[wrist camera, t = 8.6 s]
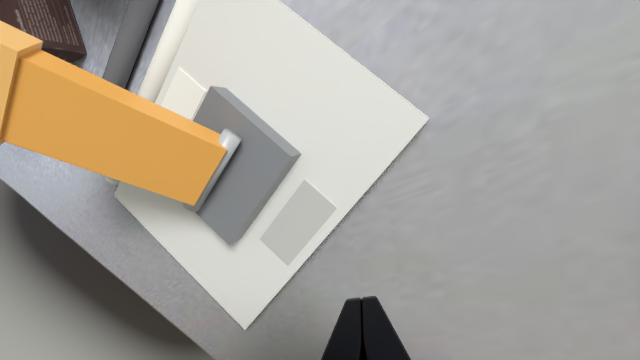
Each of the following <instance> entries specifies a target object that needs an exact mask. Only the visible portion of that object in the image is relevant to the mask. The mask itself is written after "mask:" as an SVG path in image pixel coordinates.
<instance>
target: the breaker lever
mask: <svg viewBox="0 0 640 360" xmlns="http://www.w3.org/2000/svg"><path fill="white" fill-rule="evenodd" d="M42 44H43V41H42V40H40V39H38V38H36V37H33V36H31V35H29V34H27V33H25V32H23V31H21V30H19V29H17V28H15V27H13V26H11V25H9V24H7V23H4V22H2V21H0V145H1V144H2V143H4V142H8V143H11V144H14V145H16V146H19V147H22V148H25V149H28V150H31V151H34V152H37V153H40V154H43V155H46V156H49V157H52V158H55V159H58V160H61V161H64V162H66V163H69V164H72V165H75V166H78V167H81V168H84V169H87V170H90V171H93V172H96V173H99V174H102V175H105V176H108V177H111V178H114V179H116V180H119V181H122V182H125V183H128V184H131V185H134V186H137V187H140V188H143V189H146V190H149V191H152V192H155V193H158V194H161V195H164V196H166V197H169V198H172V199H175V200H178V201H181V202H183V203H182V204H183V206H184V208H185V209H187V210H189V211H192V212H196V211H198V210H199V209H200V208H201V206H202V204H203V203H204V201H205V199H206V198H207V196H208V194H209V193H210V191H211V189H212V188H213V186H214V184H215V183H216V181H217V179H218V178H219V176H220V174H221V173H222V171H223V169H224V168H225V166H226V164H227V163H228V161H229V160H230V158H231V156H232V155H233V153H234V151H235V150H236V148H237V146H238V145H239V143H240V141H241V140H242V138H241V136H240V135H239V134H238V133H236V132H235V131H233V130H231V129H224V130H223V132H222V134H219V133H217V132H215V131H213V130H211V129H209V128H206V127H204V126H202V125H200V124H198V123H196V122H194V121H192V120H189V119H187V118H185V117H183V116H181V115H179V114H177V113H174V112H172V111H170V110H168V109H166V108H164V107H162V106H160V105H157V104H155V103H153V102H151V101H149V100H147V99H145V98H143V97H140V96H138V95H136V94H134V93H132V92H130V91H128V90H126V89H123V88H121V87H119V86H117V85H115V84H113V83H111V82H109V81H106V80H104V79H102V78H100V77H98V76H96V75H94V74H92V73H89V72H87V71H85V70H83V69H81V68H79V67H77V66H75V65H72V64H70V63H68V62H66V61H64V60H62V59H60V58H58V57H55V56H53V55H51V54H49V53H47V52H45V51H43V50H41V48H42Z"/></svg>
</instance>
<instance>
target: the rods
mask: <svg viewBox="0 0 640 360" xmlns="http://www.w3.org/2000/svg"><path fill="white" fill-rule="evenodd" d="M199 1H200V0H176V2H175V5H174V7H173V9H172V12H171V14H170V17H169V19H168V22H167V24H166V26H165V29H164V31H163V34H162V36H161V39H160V41H159V44H158V46H157V48H156V51H155V53H154V56H153V58H152V61H151V63H150V65H149V68H148V70H147V73H146V75H145V78H144V80H143V83H142V85H141V87H140V90H139V92H138V96H140V97H143V98H145V99H147V100H149V101H151V102H153V103H155V101H156V99H157V97H158V94H159V92H160V90H161V88H162V85H163V83H164V81H165V78H166V76H167V74H168V72H169V69H170V67H171V65H172V63H173V60H174V58H175V56H176V54H177V51H178V49H179V47H180V44H181V42H182V40H183V38H184V35H185V33H186V31H187V29H188V26H189V24H190V22H191V20H192V17H193V15H194V13H195V10H196V8H197V6H198V4H199ZM158 2H159V0H129V3H128V6H127V9H126V12H125V14H124V17H123V20H122V23H121V26H120V29H119V32H118V34H117V37H116V40H115V43H114V46H113V49H112V52H111V54H110V57H109V60H108V63H107V66H106V69H105V72H104V74H103V77H102V79H104V80H106V81H109V82H111V83H113V84H115V85H117V86H119V87H121V88H123V89H125V87H126V84H127V82H128V79H129V76H130V74H131V71H132V69H133V66H134V64H135V61H136V58H137V56H138V53H139V51H140V48H141V46H142V43H143V40H144V38H145V35H146V33H147V30H148V27H149V25H150V22H151V20H152V17H153V15H154V12H155V9H156V7H157V4H158ZM105 179H106V181H107V182H108V183H110V184H112V185H119V183H120V181H119V180H116V179H114V178H111V177H108V176H105Z"/></svg>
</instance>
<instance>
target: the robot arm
mask: <svg viewBox="0 0 640 360" xmlns="http://www.w3.org/2000/svg"><path fill="white" fill-rule="evenodd" d="M321 360H411V359H410V357H409V355H408V353H407V352H406V350H405V348H404V346H403V344H402V342H401V341H400V339H399V337H398V335H397V333H396V331H395V330H394V328H393V326H392V324H391V322H390V320H389V319H388V317H387V315H386V313H385V311H384V309H383V308H382V306H381V304H380V302H379V300H378V298H377V297H376V296H369V297H363V298H362V300H361V298H350V299H347V300H346V301H345V304H344V306H343V308H342V311H341V313H340V315H339V318H338V320H337V323H336V325H335V327H334V330H333V332H332V334H331V337H330V339H329V342H328V344H327V346H326V349H325V351H324V353H323V356H322V358H321Z"/></svg>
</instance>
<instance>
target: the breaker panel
mask: <svg viewBox="0 0 640 360" xmlns="http://www.w3.org/2000/svg"><path fill="white" fill-rule="evenodd" d="M155 104H157V105H160V106H162V107H164V108H166V109H168V110H170V111H172V112H174V113H177V114H179V115H181V116H183V117H185V118H187V119H189V120H192V121H194V122H196V123H198V124H200V125H202V126H204V127H206V128H209V129H211V130H213V131H215V132H217V133H219V134H222V132H223V130H224V129H231V130H233V131H235V132H236V133H238V134H239V135H240V136H241V138H242V140H241V141H240V143H239V145H238V146H237V148H236V150H235V151H234V153H233V155H232V156H231V158H230V160H229V161H228V163H227V164H226V166H225V168H224V169H223V171H222V173H221V174H220V176H219V178H218V179H217V181H216V183H215V184H214V186H213V188H212V189H211V191H210V193H209V194H208V196H207V198H206V199H205V201H204V203H203V204H202V206H201V208H200V209H199V210H198V211H196V212H192V211H189V210H187V209H185V208H184V206H183V204H182V203H183V202H181V201H178V200H175V199H172V198H169V197H166V196H164V195H161V194H158V193H155V192H152V191H149V190H146V189H143V188H140V187H137V186H134V185H131V184H128V183H125V182H122V181H120V183H119V185H118V187H117V190H116V192H115V194H114V196H115V197H116V198H117V199H118V200H119V201H120V202H121V203H122V204H123V205H124V206H125V207H126V208H127V209H128V210H129V211H130V213H131V214H132V215H133V216H134V217H135V218H136V219H137V220H138V221H139V222H140V223H141V224H142V225H143V226H144V227H145V228H146V229H147V230H148V231H149V232H150V233H151V234H152V235H153V236H154V237H155V238H156V239H157V240H158V241H159V242H160V243H161V244H162V245H163V246H164V247H165V248H166V249H167V250H168V252H169V253H170V254H171V255H172V256H173V257H174V258H175V259H176V260H177V261H178V262H179V263H180V264H181V265H182V266H183V267H184V268H185V269H186V270H187V271H188V272H189V273H190V274H191V275H192V276H193V277H194V278H195V279H196V280H197V281H198V282H199V283H200V284H201V285H202V286H203V287H204V288H205V290H206V291H207V292H208V293H209V294H210V295H211V296H212V297H213V298H214V299H215V300H216V301H217V302H218V303H219V304H220V305H221V306H222V307H223V308H224V309H225V310H226V311H227V312H228V313H229V314H230V315H231V316H232V317H233V318H234V319H235V320H236V321H237V322H238V323H239V324H240V325H241V326H242V327H243V329H244V330H246V329H247V328H248V326H249V325H250V324H251V323H252V322H253V321H254V320H255V319H256V317H257V316H258V315H259V314H260V313H261V312H262V311H263V309H264V308H265V307H266V306H267V305H268V304H269V302H270V301H271V300H272V299H273V298H274V297H275V296H276V294H277V293H278V292H279V291H280V290H281V289H282V288H283V286H284V285H285V284H286V283H287V282H288V281H289V280H290V278H291V277H292V276H293V275H294V274H295V273H296V272H297V270H298V269H299V268H300V267H301V266H302V265H303V263H304V262H305V261H306V260H307V259H308V258H309V257H310V255H311V254H312V253H313V252H314V251H315V250H316V249H317V247H318V246H319V245H320V244H321V243H322V242H323V241H324V239H325V238H326V237H327V236H328V235H329V234H330V233H331V231H332V230H333V229H334V228H335V227H336V226H337V224H338V223H339V222H340V221H341V220H342V219H343V218H344V216H345V215H346V214H347V213H348V212H349V211H350V210H351V208H352V207H353V206H354V205H355V204H356V203H357V202H358V200H359V199H360V198H361V197H362V196H363V195H364V194H365V192H366V191H367V190H368V189H369V188H370V187H371V185H372V184H373V183H374V182H375V181H376V180H377V179H378V177H379V176H380V175H381V174H382V173H383V172H384V171H385V169H386V168H387V167H388V166H389V165H390V164H391V163H392V161H393V160H394V159H395V158H396V157H397V156H398V155H399V153H400V152H401V151H402V150H403V149H404V148H405V146H406V145H407V144H408V143H409V142H410V141H411V140H412V138H413V137H414V136H415V135H416V134H417V133H418V132H419V130H420V129H421V128H422V127H423V126H424V125H425V124H426V122H427V121H428V120H429V119H430V118H429V117H428V116H426V115H425V114H424V113H423V112H421V111H420V110H419V109H418V108H416V107H415V106H414V105H412V104H411V103H410V102H409V101H407V100H406V99H405V98H403V97H402V96H401V95H400V94H398V93H397V92H396V91H395V90H393V89H392V88H391V87H389V86H388V85H387V84H386V83H384V82H383V81H382V80H381V79H379V78H378V77H377V76H375V75H374V74H373V73H372V72H370V71H369V70H368V69H366V68H365V67H364V66H363V65H361V64H360V63H359V62H358V61H356V60H355V59H354V58H352V57H351V56H350V55H349V54H347V53H346V52H345V51H343V50H342V49H341V48H340V47H338V46H337V45H336V44H335V43H333V42H332V41H331V40H329V39H328V38H327V37H326V36H324V35H323V34H322V33H321V32H319V31H318V30H317V29H315V28H314V27H313V26H312V25H310V24H309V23H308V22H306V21H305V20H304V19H303V18H301V17H300V16H299V15H298V14H296V13H295V12H294V11H292V10H291V9H290V8H289V7H287V6H286V5H285V4H284V3H282V2H281V1H280V0H200V1H199V4H198V6H197V8H196V10H195V13H194V15H193V17H192V20H191V22H190V24H189V26H188V29H187V31H186V33H185V35H184V38H183V40H182V42H181V44H180V47H179V49H178V51H177V54H176V56H175V58H174V60H173V63H172V65H171V67H170V69H169V72H168V74H167V76H166V78H165V81H164V83H163V85H162V88H161V90H160V92H159V94H158V97H157V99H156V101H155Z"/></svg>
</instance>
